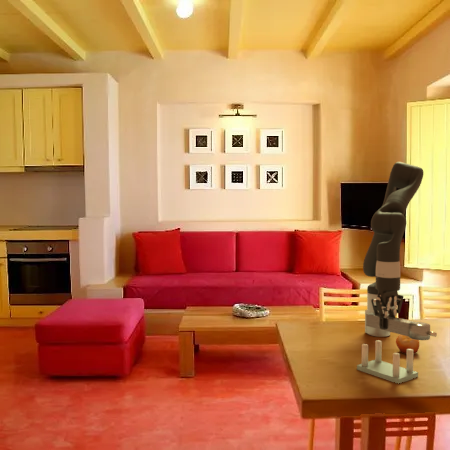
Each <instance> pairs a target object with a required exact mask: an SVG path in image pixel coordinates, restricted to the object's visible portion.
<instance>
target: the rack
mask: <svg viewBox="0 0 450 450" xmlns="http://www.w3.org/2000/svg"><path fill="white" fill-rule="evenodd" d="M374 343H375V346H374V347H375V352H374V353H375V357H374V358H375V359H372V360H370V361H369V344H367V343H362V344H361V363H360V364H356V370H358V371H360V372H362V373H366V374H369V375H372V376H374V377H378V378H380V379H384V380H386V381H389V382H392V383H394V382H395V384H397V383H398V385H400V384H402V382H403V383H404V382H405V383H406V382H408V381H411V380H414V379H417V378H418V377H419V372H418V371H416V370H415V371H414V354H413V349H407V354H406V365H405V366H406V368H405V367H402V366H400V365H401V363H400V362H401V358H400V357H401V354H400V353H398V352H393V353H392V363H390V362H387V361H383V360H382V356H383V355H382V353H383V352H382V349H383V347H382V345H383V341H382V340H379V339H378V340H377V339H376V340H375V342H374ZM416 377H417V378H416ZM413 378H414V379H413ZM399 383H400V384H399Z"/></svg>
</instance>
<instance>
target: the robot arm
mask: <svg viewBox="0 0 450 450" xmlns="http://www.w3.org/2000/svg"><path fill="white" fill-rule="evenodd" d="M423 179H424V170H423V168H422V167H420V166H418V165H414V164H410V163H406V162H402V161H396V162H395V163H394V164H393V166H392V167H391V171H390V174H389V177H388V180H387V181H388V182H387V186H386V191H385V195H384V199H383V203H382V205H381V207H380V208H379V209H378V210H376V211H375V212H374V214H373V216H372V218H371V220H370V228H371V230H372V231H373V235H372V240H371V241H370V244H369V246H368V249H367V252H366V254H365V257H364V259H363V263H362V268H363V270H362V271H363V273H364V275H365V276H366V277H372V278H375V281H374V282H372V283H370V284H369V285H367V290H366V291H367V293H366V295H367V296H366V297H367V298H366V301H367V302H366V303H367V304H366V308H367V309H366V310H365V311H364V334H365V333H366V334H367V335H369V336H372V337H380V338H381V337H382V338H383V337H389V336H390V335H391V332H389V331H385V329H387V316H391V317H396V316H397V315H398V314H400V313H401V309H402V305H403V301H404V295H402V294H399V293H398V291H400V290H401V262H400V259H401V257H400V256H401V255H400V253H401V244H402V240H403V236H404V233H405V232H406V231H405V230H406V226H407V219H406V217H405V214H406V211H407V208H408V205H409V204H410V202H411V200H412V199H413V198H414V196H415V195H416V194H417V192H418V190H419V188H420V187H421V184H422V180H423ZM373 312H374V314H375V316H379V318H380V321H379V326H380V329H377V328H373V327H369V326H366V314H368V313H373ZM381 329H384V330H381Z"/></svg>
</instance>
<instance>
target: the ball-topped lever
mask: <svg viewBox="0 0 450 450" xmlns="http://www.w3.org/2000/svg"><path fill="white" fill-rule="evenodd" d="M379 321H380V318H379V316H375V314H374V312H373V313H368V314H366V326H369V327H373V328H377V329H380V326H379ZM381 330H384V329H381ZM385 331H389V332H390V333H394V334H397V335H404V336H408V337H410V338H411V339H415V340H419V341H429V340H431V337H435V338H436V337H437V334H438V333H437V332H436V331H435V332H434V331H431V324H430V323H427V322H421V321H413V320H410V319H409V320H408V319H405V318H401V317H400V318H399V317H396V316H395V317H391V316H387V329H385Z"/></svg>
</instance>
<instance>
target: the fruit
mask: <svg viewBox="0 0 450 450" xmlns="http://www.w3.org/2000/svg"><path fill="white" fill-rule="evenodd" d="M395 339H396V340H395V344H396V346H397V348H398V350H399V352H400V353H401V354H404V355H407V349H413V355H415V354H417V353H418V351H419V349H420V340H415V339H411V338H410V337H408V336H404V335H401V334H398V336H396V338H395Z"/></svg>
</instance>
